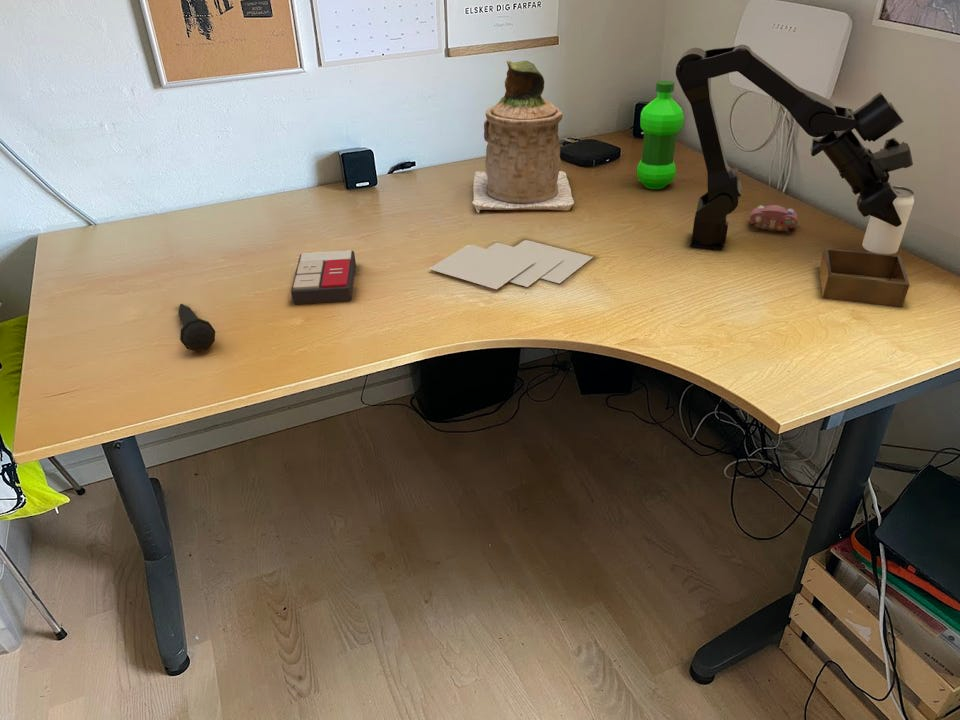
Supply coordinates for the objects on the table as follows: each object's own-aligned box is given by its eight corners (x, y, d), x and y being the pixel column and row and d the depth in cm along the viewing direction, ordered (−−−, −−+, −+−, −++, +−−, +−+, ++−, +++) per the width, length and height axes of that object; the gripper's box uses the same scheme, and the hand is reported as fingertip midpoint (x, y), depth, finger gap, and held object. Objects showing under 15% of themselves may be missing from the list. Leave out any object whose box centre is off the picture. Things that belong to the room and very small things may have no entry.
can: (905, 253, 141) (924, 195, 134) (876, 257, 139) (894, 198, 133) (882, 240, 146) (900, 183, 139) (854, 244, 145) (871, 186, 138)
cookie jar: (575, 211, 170) (582, 68, 152) (471, 214, 170) (466, 72, 153) (566, 176, 190) (571, 46, 173) (473, 178, 191) (469, 49, 173)
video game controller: (746, 233, 160) (750, 212, 154) (749, 218, 162) (753, 196, 156) (793, 239, 157) (799, 217, 151) (796, 223, 159) (802, 201, 153)
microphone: (177, 324, 137) (196, 362, 121) (159, 300, 134) (176, 336, 118) (202, 309, 138) (224, 344, 123) (185, 285, 135) (205, 318, 119)
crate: (822, 297, 132) (828, 275, 130) (819, 268, 142) (824, 248, 139) (902, 307, 128) (909, 284, 126) (893, 277, 138) (900, 255, 135)
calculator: (289, 288, 134) (299, 250, 146) (293, 307, 136) (303, 268, 149) (348, 284, 134) (353, 246, 146) (351, 303, 137) (356, 265, 149)
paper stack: (493, 231, 161) (493, 228, 161) (593, 257, 149) (593, 254, 148) (428, 271, 146) (428, 268, 145) (533, 303, 133) (533, 300, 133)
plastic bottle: (625, 186, 183) (634, 83, 169) (650, 175, 189) (660, 75, 175) (658, 195, 177) (670, 90, 163) (683, 184, 182) (696, 81, 169)
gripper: (899, 144, 123) (949, 211, 127) (886, 115, 138) (931, 176, 141) (837, 184, 130) (887, 247, 133) (831, 152, 145) (876, 210, 148)
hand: (897, 218), depth 139 cm, fingers closed on can, 6 cm apart
